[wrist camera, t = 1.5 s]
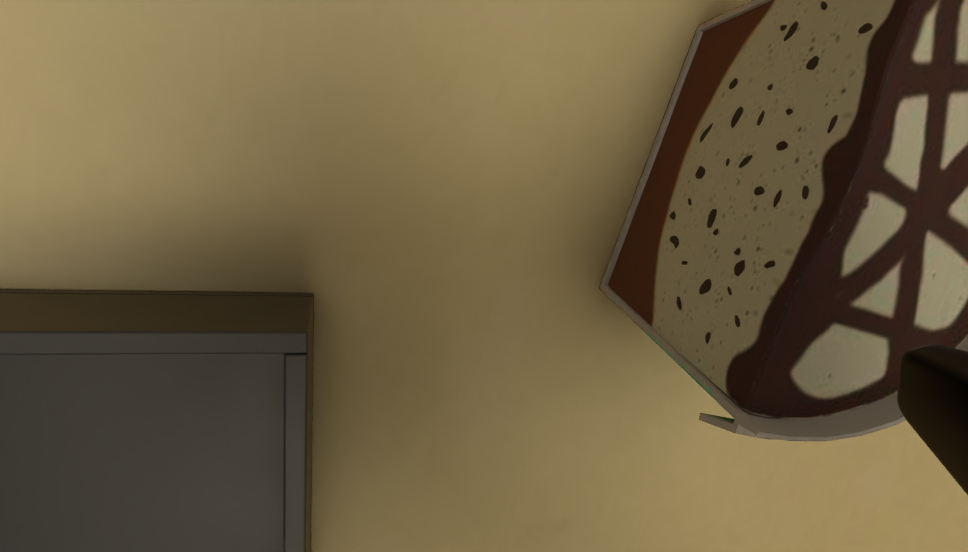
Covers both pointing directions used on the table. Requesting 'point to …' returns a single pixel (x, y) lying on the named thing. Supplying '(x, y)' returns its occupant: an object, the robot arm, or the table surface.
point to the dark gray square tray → (155, 421)
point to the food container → (806, 211)
